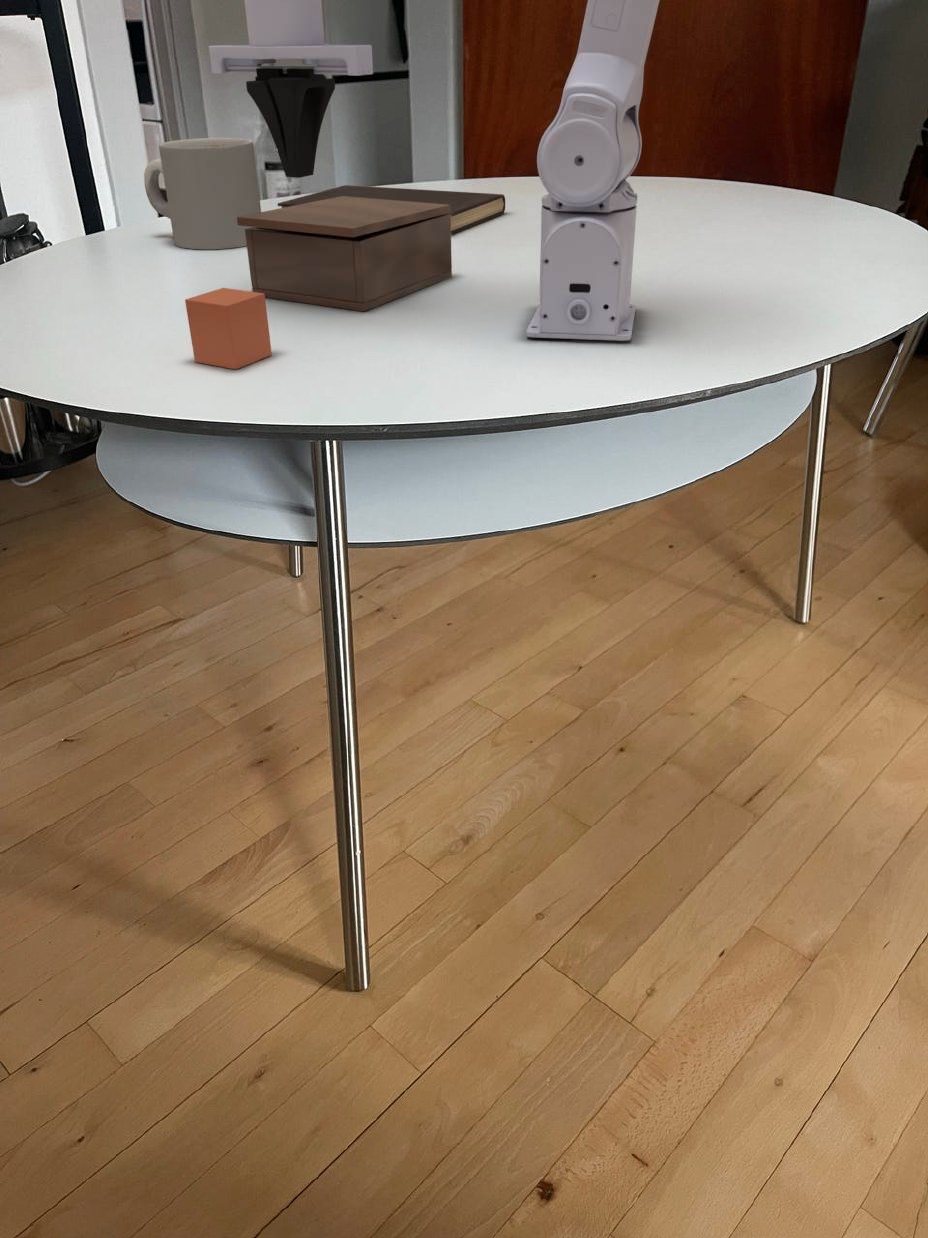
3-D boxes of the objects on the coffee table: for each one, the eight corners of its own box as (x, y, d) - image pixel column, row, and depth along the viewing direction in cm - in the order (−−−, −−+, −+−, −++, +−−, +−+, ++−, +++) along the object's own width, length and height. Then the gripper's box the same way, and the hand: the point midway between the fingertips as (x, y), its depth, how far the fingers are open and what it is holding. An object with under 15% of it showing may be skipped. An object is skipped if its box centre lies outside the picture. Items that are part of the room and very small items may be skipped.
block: (272, 355, 74) (265, 293, 71) (235, 369, 71) (227, 305, 68) (231, 347, 75) (223, 287, 73) (194, 361, 72) (184, 299, 70)
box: (364, 311, 84) (359, 240, 81) (252, 295, 89) (244, 228, 86) (452, 276, 94) (450, 213, 91) (347, 264, 100) (342, 203, 97)
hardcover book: (448, 236, 112) (448, 214, 110) (279, 223, 120) (277, 202, 119) (505, 213, 124) (505, 193, 123) (348, 202, 132) (347, 184, 131)
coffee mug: (282, 236, 113) (272, 139, 108) (221, 252, 106) (206, 149, 101) (197, 226, 119) (183, 134, 114) (134, 241, 112) (116, 143, 107)
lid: (353, 237, 80) (353, 228, 80) (237, 225, 86) (236, 216, 85) (450, 212, 91) (450, 204, 91) (342, 203, 97) (342, 195, 96)
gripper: (392, -26, 73) (401, 174, 80) (243, -20, 79) (264, 164, 87) (333, -28, 68) (348, 186, 75) (179, -22, 74) (207, 175, 81)
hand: (299, 175), depth 80 cm, fingers closed
